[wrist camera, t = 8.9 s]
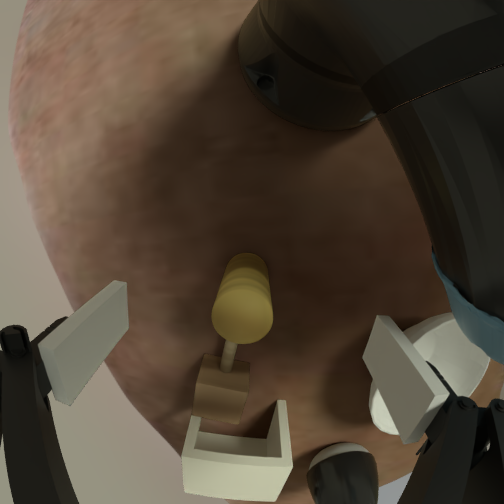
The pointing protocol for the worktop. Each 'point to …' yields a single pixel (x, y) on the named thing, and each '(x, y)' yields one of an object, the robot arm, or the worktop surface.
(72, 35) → the worktop surface
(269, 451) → the cream u-shaped stand
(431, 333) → the bowl
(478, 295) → the robot arm
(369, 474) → the pump dispenser
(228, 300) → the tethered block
